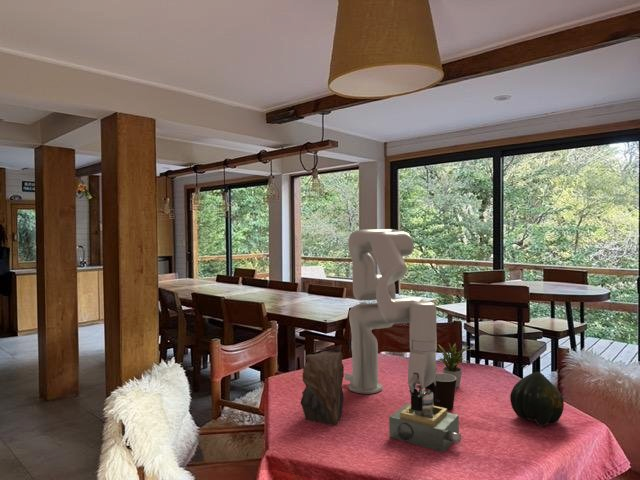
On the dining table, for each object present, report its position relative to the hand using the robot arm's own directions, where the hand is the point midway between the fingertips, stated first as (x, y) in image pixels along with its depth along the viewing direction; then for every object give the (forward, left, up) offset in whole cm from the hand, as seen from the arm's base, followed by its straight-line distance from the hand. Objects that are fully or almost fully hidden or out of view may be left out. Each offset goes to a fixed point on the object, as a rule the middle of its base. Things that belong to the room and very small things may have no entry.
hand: (423, 404), depth 132 cm
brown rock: (-31, -5, -10) cm, 33 cm away
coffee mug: (-4, +25, -10) cm, 27 cm away
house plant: (-7, +45, -10) cm, 47 cm away
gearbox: (+1, 0, -9) cm, 9 cm away
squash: (+24, +30, -10) cm, 40 cm away
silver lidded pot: (0, 0, -3) cm, 3 cm away
